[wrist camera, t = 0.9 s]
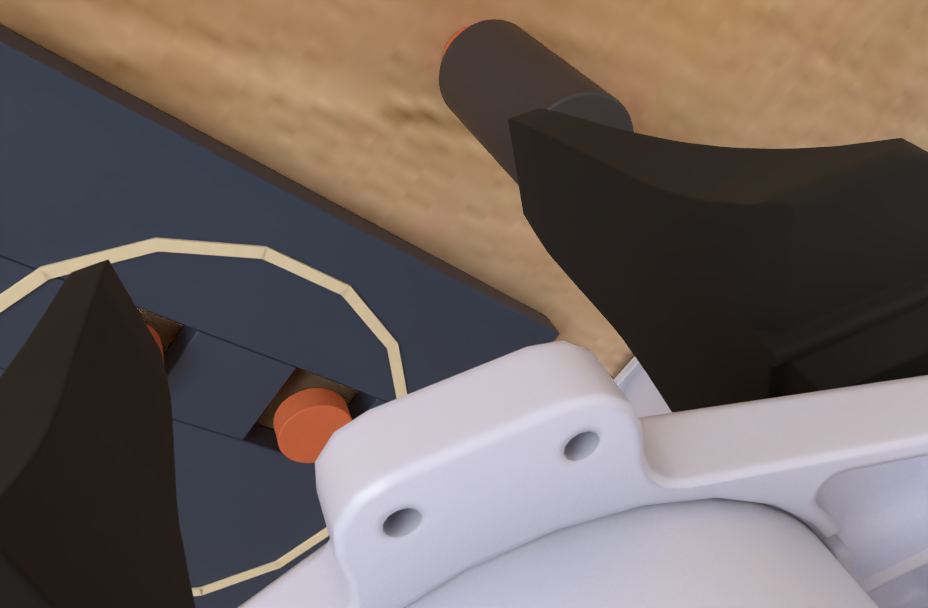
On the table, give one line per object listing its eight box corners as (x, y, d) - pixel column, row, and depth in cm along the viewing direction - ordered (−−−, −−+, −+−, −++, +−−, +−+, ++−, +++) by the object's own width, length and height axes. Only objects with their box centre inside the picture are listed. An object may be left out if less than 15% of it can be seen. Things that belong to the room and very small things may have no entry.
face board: (547, 316, 31) (561, 335, 30) (292, 620, 36) (297, 645, 35) (-8, 19, 20) (-13, 35, 19) (-274, 529, 24) (-290, 563, 24)
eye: (361, 400, 29) (368, 419, 28) (320, 451, 30) (326, 471, 29) (299, 377, 28) (305, 396, 27) (258, 432, 28) (263, 452, 27)
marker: (537, 43, 25) (658, 133, 20) (478, 124, 26) (578, 231, 20) (466, -15, 23) (577, 66, 18) (405, 73, 24) (493, 176, 19)
